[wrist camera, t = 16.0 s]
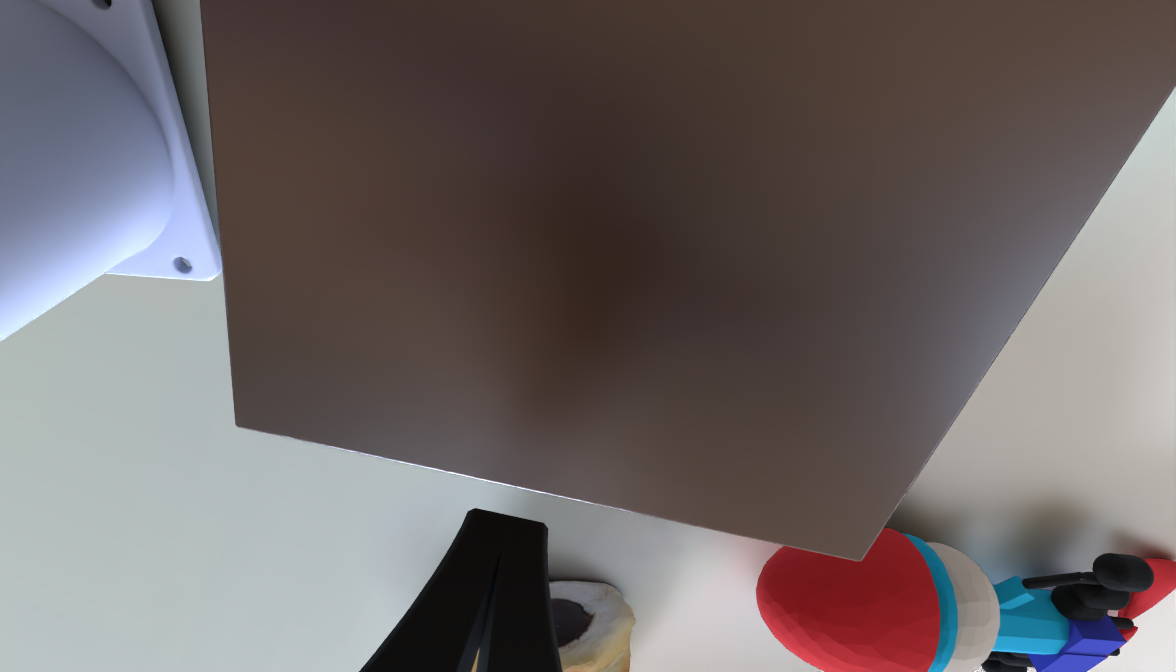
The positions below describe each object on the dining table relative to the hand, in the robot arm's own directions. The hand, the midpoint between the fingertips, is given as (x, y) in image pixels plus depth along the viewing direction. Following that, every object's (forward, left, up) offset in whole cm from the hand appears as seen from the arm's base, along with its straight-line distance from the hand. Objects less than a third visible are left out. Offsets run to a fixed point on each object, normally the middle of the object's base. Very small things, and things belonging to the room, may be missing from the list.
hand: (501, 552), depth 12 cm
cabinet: (+2, +7, -9) cm, 12 cm away
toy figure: (+14, -10, -10) cm, 20 cm away
